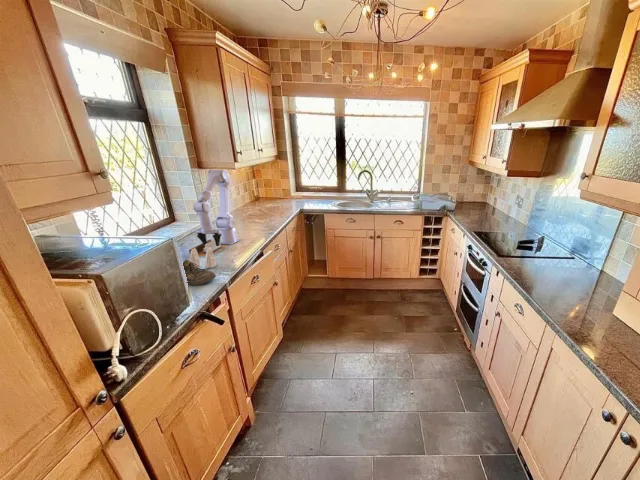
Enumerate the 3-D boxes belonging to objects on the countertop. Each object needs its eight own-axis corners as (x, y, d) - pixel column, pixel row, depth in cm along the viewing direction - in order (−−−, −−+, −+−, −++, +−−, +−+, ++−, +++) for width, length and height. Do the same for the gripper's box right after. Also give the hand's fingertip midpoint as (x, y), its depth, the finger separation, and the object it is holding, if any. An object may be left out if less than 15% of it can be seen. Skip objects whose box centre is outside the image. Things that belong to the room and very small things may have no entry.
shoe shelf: (210, 245, 193) (209, 239, 191) (229, 245, 192) (227, 239, 190) (190, 256, 175) (188, 249, 173) (210, 256, 174) (209, 250, 172)
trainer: (214, 247, 188) (212, 240, 186) (222, 247, 188) (220, 240, 186) (203, 253, 178) (201, 245, 176) (212, 253, 178) (209, 246, 176)
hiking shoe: (207, 282, 136) (206, 256, 137) (163, 287, 137) (162, 260, 138) (220, 284, 145) (219, 259, 146) (178, 288, 147) (177, 263, 148)
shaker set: (191, 272, 153) (184, 251, 148) (190, 269, 156) (183, 249, 151) (217, 267, 159) (212, 246, 154) (216, 264, 162) (210, 244, 157)
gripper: (189, 224, 173) (196, 247, 179) (214, 225, 172) (220, 248, 178) (197, 221, 179) (203, 243, 185) (221, 221, 178) (226, 244, 184)
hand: (212, 245), depth 182 cm, fingers open, 7 cm apart
